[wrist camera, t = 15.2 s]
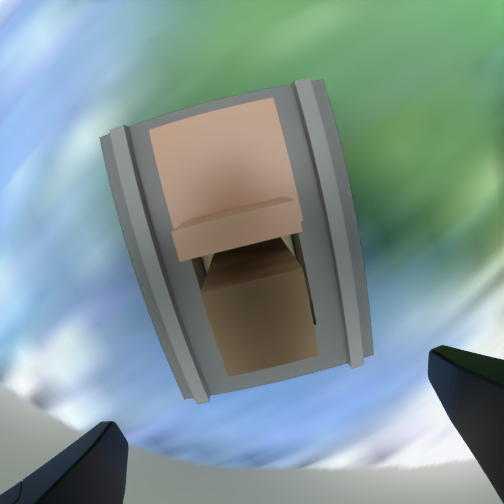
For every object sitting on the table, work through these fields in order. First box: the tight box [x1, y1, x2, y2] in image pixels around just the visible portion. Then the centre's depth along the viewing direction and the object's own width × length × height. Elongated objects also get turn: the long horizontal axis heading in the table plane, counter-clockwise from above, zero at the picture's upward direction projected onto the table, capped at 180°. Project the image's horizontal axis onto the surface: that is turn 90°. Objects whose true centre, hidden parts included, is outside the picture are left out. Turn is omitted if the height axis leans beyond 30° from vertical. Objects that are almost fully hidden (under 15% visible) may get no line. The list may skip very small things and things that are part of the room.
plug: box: [201, 237, 319, 377], centre depth 16 cm, size 4×4×7 cm
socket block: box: [100, 78, 374, 404], centre depth 17 cm, size 12×16×4 cm
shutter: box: [149, 98, 303, 262], centre depth 13 cm, size 6×6×4 cm
